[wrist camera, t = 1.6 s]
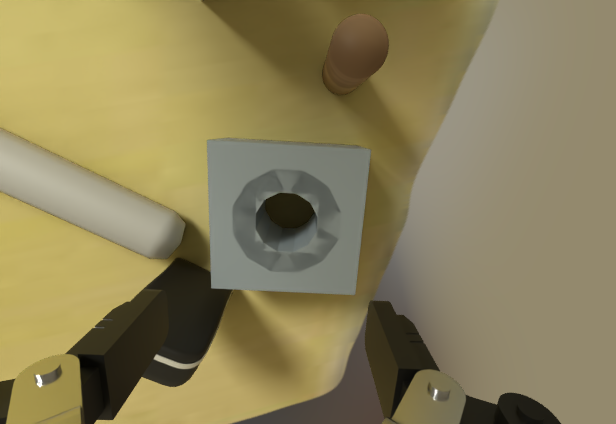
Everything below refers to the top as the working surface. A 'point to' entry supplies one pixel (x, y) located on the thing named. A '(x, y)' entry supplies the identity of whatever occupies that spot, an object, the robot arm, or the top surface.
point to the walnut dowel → (354, 53)
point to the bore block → (271, 237)
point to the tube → (87, 199)
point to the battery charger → (186, 321)
